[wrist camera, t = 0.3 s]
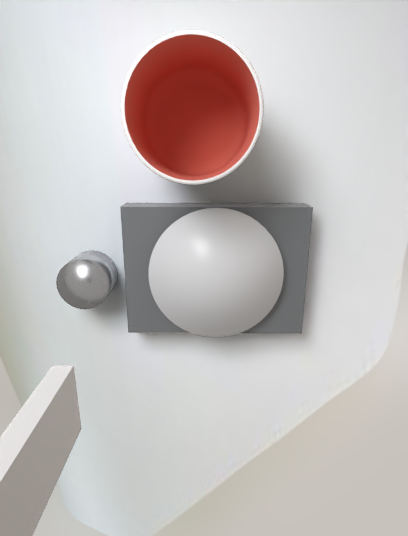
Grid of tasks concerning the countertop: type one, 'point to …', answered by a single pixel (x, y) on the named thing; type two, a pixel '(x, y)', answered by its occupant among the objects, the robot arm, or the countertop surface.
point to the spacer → (87, 279)
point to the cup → (192, 107)
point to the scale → (215, 267)
